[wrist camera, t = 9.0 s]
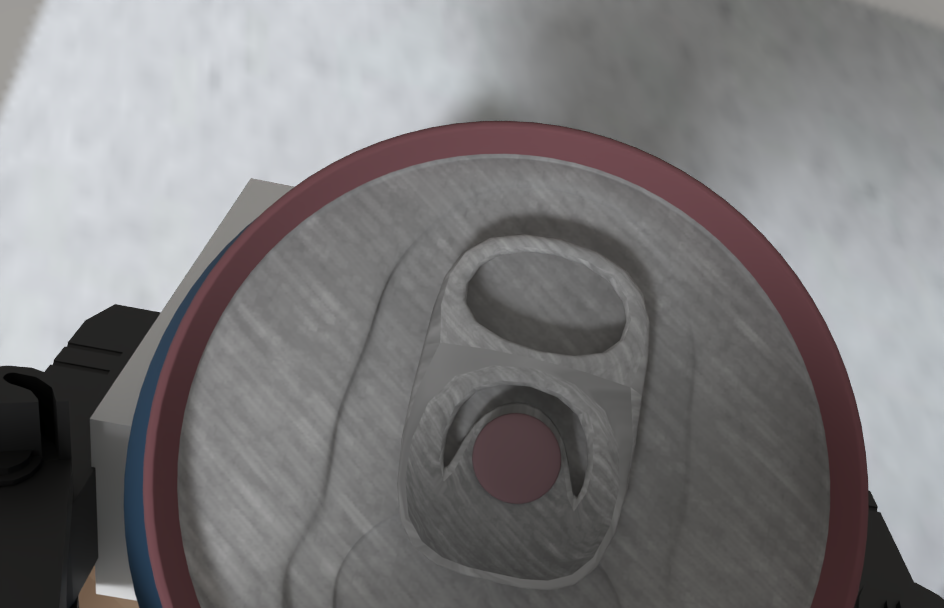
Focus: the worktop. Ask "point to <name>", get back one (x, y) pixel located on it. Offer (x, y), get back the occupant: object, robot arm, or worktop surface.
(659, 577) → the soda can
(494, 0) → the worktop surface
